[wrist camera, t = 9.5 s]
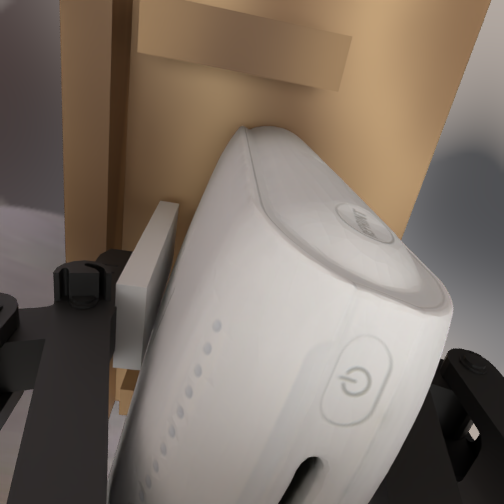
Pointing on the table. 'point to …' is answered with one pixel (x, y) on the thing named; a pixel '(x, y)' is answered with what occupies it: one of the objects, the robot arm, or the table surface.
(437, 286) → the photo printer
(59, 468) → the robot arm
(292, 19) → the ledge shelf
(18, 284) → the table surface
